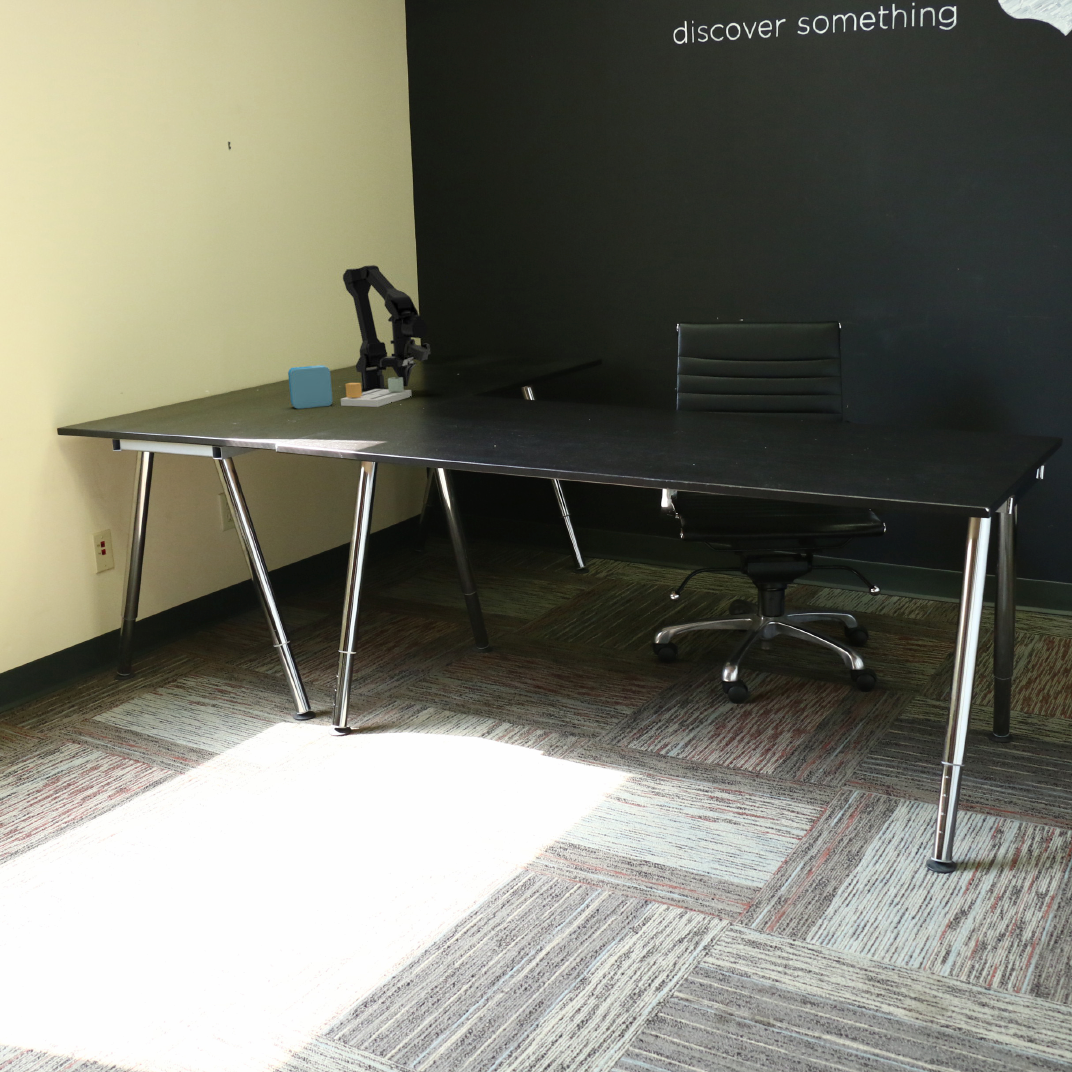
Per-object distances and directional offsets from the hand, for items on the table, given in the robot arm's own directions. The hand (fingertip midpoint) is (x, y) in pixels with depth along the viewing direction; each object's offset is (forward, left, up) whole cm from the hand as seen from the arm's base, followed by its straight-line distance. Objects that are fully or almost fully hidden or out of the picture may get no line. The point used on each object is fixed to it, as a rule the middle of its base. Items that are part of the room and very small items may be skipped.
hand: (405, 386), depth 370 cm
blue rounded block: (-19, -25, -3) cm, 31 cm away
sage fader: (0, -6, 0) cm, 6 cm away
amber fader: (-7, -19, -1) cm, 20 cm away
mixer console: (-4, -12, -3) cm, 13 cm away
